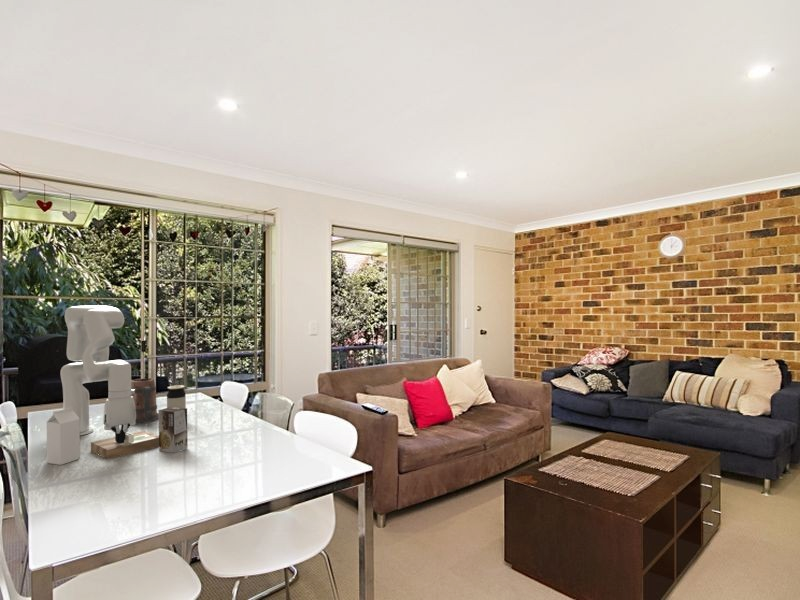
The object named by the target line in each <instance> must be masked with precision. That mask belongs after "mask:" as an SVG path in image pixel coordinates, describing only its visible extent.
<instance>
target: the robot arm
mask: <svg viewBox="0 0 800 600" xmlns="http://www.w3.org/2000/svg"><path fill="white" fill-rule="evenodd" d="M64 321H65V323H66V327H67V341H66V357H67V360H69V361H72V362H71V363H67V364H65V365H63V366H62V367H61V369H60V372H59V373H60V379H61V385H62V398H63V399H62V400H63V401H62V402H63V403H62V405H63V406H62V407H63V409H62V410H64V409H68V408H73V411H74V412H75V414H76V415H77V416H78V418H79V427H80V436H85V435H88V434H91V433H93V432H94V431H95V430H94V429H95V428H94V427H92V426H90V392H89V389H87V388H86V387H85V386H84V385H83V384H86V383H87V384H88V383H93V382H94V383H96V382H103V381H107V382H108V383H107V385H108V386H107V387H108V393H107V394H108V395H107V396H108V397H107V399H106V400H105V402H104V408H103V418H102V421H103V422H102V424H103V425H104V427H103V429H104V430H105V431H112V432H113V433H114V434H115V436H114V437H115V441H116V442H117V443H119V444H121V443H124V440H125V432H126V431H127V429H128V430H129V428H130V427H132V426H134V425H137V424H136V422H135V420H136V410H135V403H134V399H133V397H132V394H133V393H135V390H132V389H131V380H132V365H131V363H130V362H127V361H125V360H123V359H114V360H109V356H110V346H112V345H113V343H114V342H115V334H114V332H113V330H112V329H120V328H122V327H123V326H124V324H125V316H124V314H123V312H122V311H121V310H120V309H119V308H117V307H114V306H111V305H75V306H69V307H68V308H66V310H65V311H64ZM120 429H121V430H120Z"/></svg>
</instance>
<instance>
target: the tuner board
mask: <svg viewBox="0 0 800 600" xmlns="http://www.w3.org/2000/svg"><path fill="white" fill-rule="evenodd" d="M130 433H131V434H134V442H133V443H127V442H124V443H121V444H119V443H117V442H116V441H115V436H114V437H109V438H103V439H100V440H99V439H98V440H95V441H92V442H90V452H92V453H94V454H96V453H97V454H96V455H98V454H99V455H98V456H100V455H101V456H100V457H102V456H103V457H102V458H104V457H105V458H104V459H106V458H107V459H106V460H110V459H115V458H118V457H121V456H122V457H123V456H127V455H130V454H134V453H138V452H143V451H146V450H151V449H154V448H159V434H155V433H152V432H149V431H146V430H140V431H136V432H130Z"/></svg>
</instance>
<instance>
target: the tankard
mask: <svg viewBox="0 0 800 600" xmlns="http://www.w3.org/2000/svg"><path fill="white" fill-rule="evenodd" d="M131 389H132V390H135V393H133V394H132V397H133V399H134V403H135V410H136V420H135V422H136V424H135V425H139V424H148V423H153V422H157V421H159V415H158V412H157V411H158V410H157V409H158V405H157V397H156V396H157V395H156V393H157V391H156V390H157V386H156V384H155V379H154V378H153V377H151V378H150V377H149V378H136V379H131Z"/></svg>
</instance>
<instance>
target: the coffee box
mask: <svg viewBox="0 0 800 600" xmlns="http://www.w3.org/2000/svg"><path fill="white" fill-rule="evenodd" d="M157 411H158V412H157V413H158V415H159V420H158V436H159V446H158V450H159V451H160V452H166V453H171V454H172V453H173V454H177V453H179V452H183V451H185V450H188V449H189V448H188V446H189V445H188V408H179V407H168V408H167V407H165V408H162V409H158V410H157Z"/></svg>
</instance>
